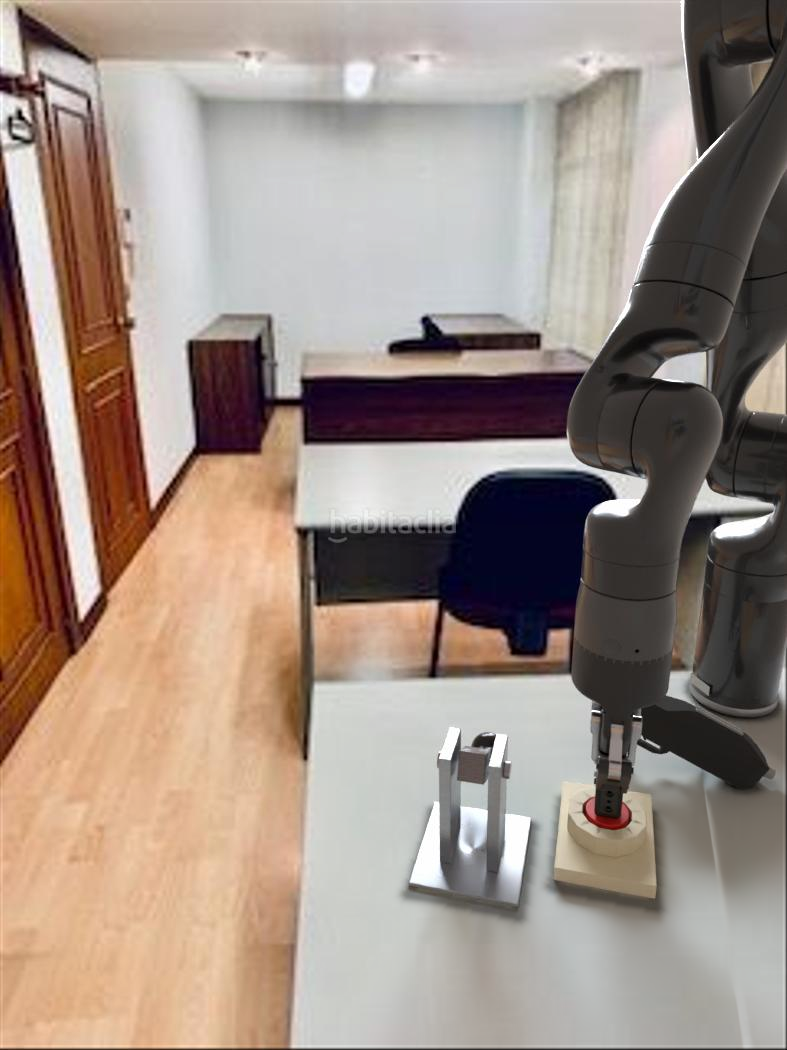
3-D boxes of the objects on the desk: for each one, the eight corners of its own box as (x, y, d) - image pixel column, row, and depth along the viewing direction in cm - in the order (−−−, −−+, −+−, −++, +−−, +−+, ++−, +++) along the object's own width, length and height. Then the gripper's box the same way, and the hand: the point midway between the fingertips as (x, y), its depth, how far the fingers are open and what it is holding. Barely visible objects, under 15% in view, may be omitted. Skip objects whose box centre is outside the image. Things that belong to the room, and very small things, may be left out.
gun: (729, 834, 76) (793, 766, 72) (585, 757, 76) (641, 684, 72) (723, 814, 78) (785, 747, 74) (584, 740, 78) (638, 668, 74)
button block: (561, 799, 73) (564, 765, 72) (649, 813, 71) (653, 778, 70) (553, 888, 63) (555, 850, 62) (654, 907, 61) (658, 868, 60)
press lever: (472, 761, 73) (475, 728, 74) (505, 767, 72) (508, 732, 73) (450, 784, 62) (453, 744, 62) (489, 791, 61) (492, 750, 61)
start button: (585, 809, 68) (586, 793, 68) (627, 815, 67) (628, 799, 67) (583, 837, 65) (585, 821, 64) (627, 845, 64) (629, 828, 64)
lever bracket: (435, 811, 72) (433, 705, 68) (530, 827, 70) (535, 719, 66) (408, 893, 63) (405, 777, 59) (517, 915, 61) (522, 796, 57)
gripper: (680, 684, 53) (656, 878, 59) (668, 601, 64) (649, 770, 70) (569, 671, 54) (557, 860, 60) (578, 593, 66) (567, 757, 72)
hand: (607, 811), depth 65 cm, fingers closed
